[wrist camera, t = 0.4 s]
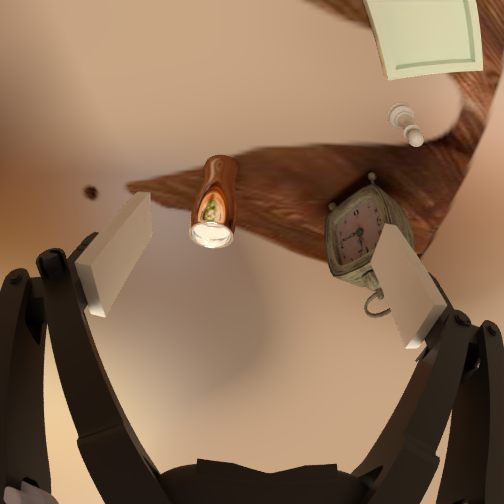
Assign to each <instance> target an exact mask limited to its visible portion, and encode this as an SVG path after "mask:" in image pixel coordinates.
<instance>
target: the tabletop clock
mask: <svg viewBox="0 0 504 504" xmlns="http://www.w3.org/2000/svg"><path fill="white" fill-rule="evenodd" d="M368 179H369V180H371V184H370V185H367V186H365V187H363V188H362V189H360V190H359V191H357V192H356V193H354V194H353V195H351V196H350V197H348V198H347V199H346V200H344V201H343V202H342V203H341V204H340V205H339V206H336V204H335V203H333V202H332V203H330V204H329V209H330V210H333V211H332V212H331V213H330V214H329V216H328V217H327V218H326V222H325V233H324V234H325V250H326V255H327V260H328V265H329V268H330V271H331V273H332V275H333V276H334V277H336V278H338V279H341V280H343V281H346V282H349V283H351V284H354V285H357V286H359V287H367V288H368V289H370V290H372V291H377V292H376V293H374V294H373V295H372V296H371V297H369V298H368V300H367V301H366V304H365V308H364V309H365V312H366V314H367V315H368V316H370V317H374V318H377V317H382V316H384V315H387V314H388V313H390V312H391V310H390V308H389V309H387V310H385V311H383V312H380V313H377V314H372V313H370V312H369V311H368V310H367V305H368V304H369V302H370V301H371V300H372V299H374V298H375V297H377V296H378V299H383V298H384V294H383V291H382V288H381V286H380V284H379V281H378V279H377V277H376V274H375V272H374V270H373V268H372V266H371V263H370V262H371V259H372V257H373V254H374V252H375V249H376V246H377V244H378V241H379V239H380V236H381V233H382V230H383V228H384V225H385V223H386V224H391V225H396V226H397V227H398V229H399V230H400V232H401V233H402V234H403V236H404V237H405V239H406V240H407V242H408V243H409V245H410V246H411V247H412V249H413V250H414V252H415V244H414V238H413V234H412V229H411V225H410V223H409V220H408V218H407V216H406V213H405V211H404V210H403V208H402V206H401V205H400V204H399V203H398V202H397V201H395V200H394V199H393V198H392V197H390V196H389V195H388V194H387V193H385V192H384V191H383V190H382V189H380V188H379V187H378V186H376V185H375V183H374V180H375V179H376V174H375V173H373V172H370V173H369V174H368Z"/></svg>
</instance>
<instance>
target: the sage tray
mask: <svg viewBox="0 0 504 504" xmlns="http://www.w3.org/2000/svg"><path fill="white" fill-rule="evenodd" d="M362 1H363V4H364V6H365V9H366V12H367V15H368V18H369V21H370V25H371V28H372V31H373V35H374V38H375V42H376V45H377V49H378V52H379V56H380V60H381V64H382V69H383V73H384V75H385V77H386V78H387V79H388V80H393V79H399V78H405V77H412V76H420V75H428V74H436V73H447V72H460V71H480V70H483V60H482V44H481V34H480V25H479V18H478V11H477V5H476V0H362Z"/></svg>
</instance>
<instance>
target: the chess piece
mask: <svg viewBox="0 0 504 504" xmlns="http://www.w3.org/2000/svg"><path fill="white" fill-rule="evenodd" d="M387 118H388V120H389V122H390V123H391V124H392V125H393V126H394V127H396V128H398V129H404V137H405V138H406V139H408V142H409V143H410V144H411V145H412V146H414V147H419V146H421V145H422V144H423V141H424V137H423V135H422V133H421V132H420V128H419V127H418V126H416V125H413V121H414V119H415V114H414V112H413V109H412V107H411V106H410V105H409V104H407V103H404V102H400V103H395V104H394V105H392V106H391V107H390V108H389V110H388V112H387Z"/></svg>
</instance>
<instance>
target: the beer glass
mask: <svg viewBox="0 0 504 504" xmlns="http://www.w3.org/2000/svg"><path fill="white" fill-rule="evenodd" d="M238 171H239V167H238V164H237V162H236V161H235V160H234V159H233V158H231V157H229V156H226V155H215V156H212V157H210V158H209V159H208V160H207V161H206V163H205V166H204V172H205V176H204V180H203V183H202V185H201V187H200V189H199V191H198V193H197V196H196V198H195V201H194V204H193V208H192V213H191V220H190V230H189V235H190V238H191V239H192V241H194V242H195V243H197V244H198V245H200V246H203V247H207V248H222V247H225V246H227V245H229V244H230V243H231V242H232V241H233V238H234V231H235V226H236V219H237V199H236V192H235V180H236V177H237V174H238Z"/></svg>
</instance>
